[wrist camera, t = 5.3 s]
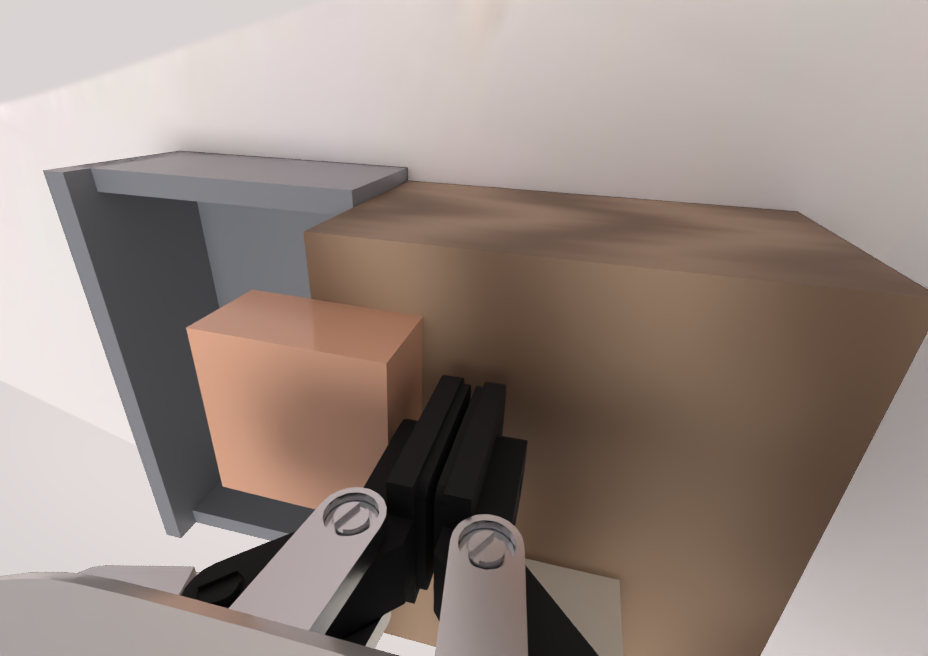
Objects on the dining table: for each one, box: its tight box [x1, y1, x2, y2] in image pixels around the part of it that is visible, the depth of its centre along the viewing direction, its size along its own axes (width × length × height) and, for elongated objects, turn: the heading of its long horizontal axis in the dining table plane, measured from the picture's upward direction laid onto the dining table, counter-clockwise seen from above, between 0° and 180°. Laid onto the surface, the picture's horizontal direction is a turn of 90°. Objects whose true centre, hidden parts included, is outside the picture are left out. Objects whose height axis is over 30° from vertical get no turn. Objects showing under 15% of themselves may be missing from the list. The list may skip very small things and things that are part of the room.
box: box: [43, 151, 408, 541], centre depth 21 cm, size 10×17×6 cm, turn 177°
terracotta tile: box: [186, 290, 423, 509], centre depth 13 cm, size 5×5×2 cm
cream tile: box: [525, 559, 623, 656], centre depth 15 cm, size 5×5×2 cm
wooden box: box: [303, 181, 928, 656], centre depth 18 cm, size 14×16×8 cm
